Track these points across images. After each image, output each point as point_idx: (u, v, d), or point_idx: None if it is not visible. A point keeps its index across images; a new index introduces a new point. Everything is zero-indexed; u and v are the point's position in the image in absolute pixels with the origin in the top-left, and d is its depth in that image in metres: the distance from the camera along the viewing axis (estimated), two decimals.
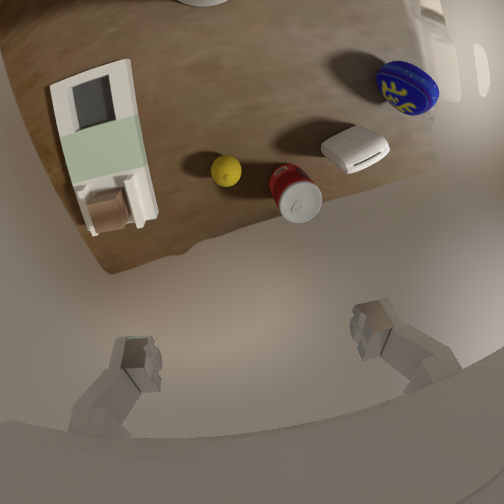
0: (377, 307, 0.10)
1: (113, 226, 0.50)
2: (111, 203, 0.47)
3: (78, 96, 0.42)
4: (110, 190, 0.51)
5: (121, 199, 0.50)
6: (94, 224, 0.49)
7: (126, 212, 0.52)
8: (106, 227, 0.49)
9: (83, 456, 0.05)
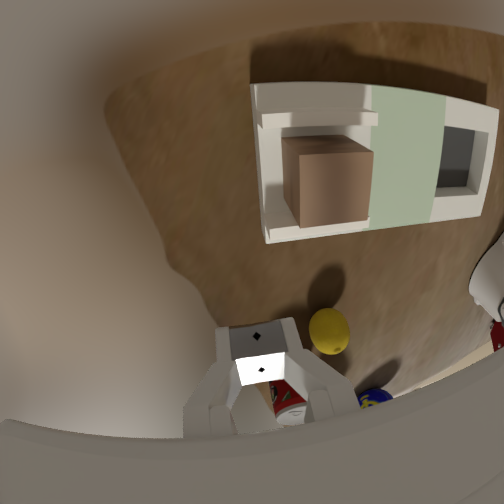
0: (276, 327, 0.10)
1: (308, 205, 0.22)
2: (361, 212, 0.23)
3: (465, 133, 0.28)
4: None
5: None
6: (324, 156, 0.20)
7: None
8: (310, 187, 0.21)
9: (83, 456, 0.05)
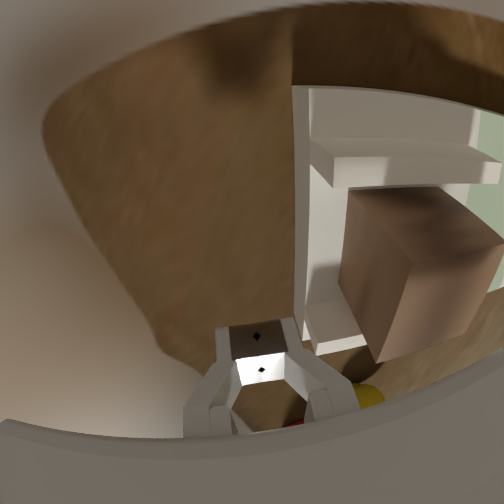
0: (276, 327, 0.10)
1: (400, 334, 0.11)
2: (462, 327, 0.12)
3: None
4: None
5: None
6: (448, 260, 0.09)
7: None
8: (411, 311, 0.10)
9: (83, 456, 0.05)
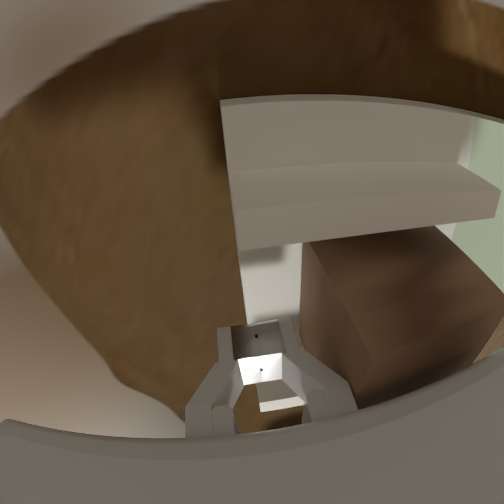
0: (273, 327, 0.10)
1: None
2: None
3: None
4: None
5: None
6: (428, 344, 0.07)
7: None
8: (375, 397, 0.08)
9: (83, 456, 0.05)
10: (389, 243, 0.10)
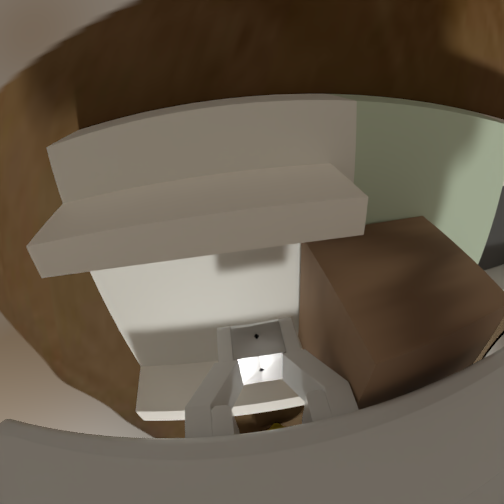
0: (274, 327, 0.10)
1: None
2: None
3: None
4: None
5: None
6: (431, 346, 0.06)
7: None
8: (378, 400, 0.08)
9: (83, 456, 0.05)
10: (388, 244, 0.10)
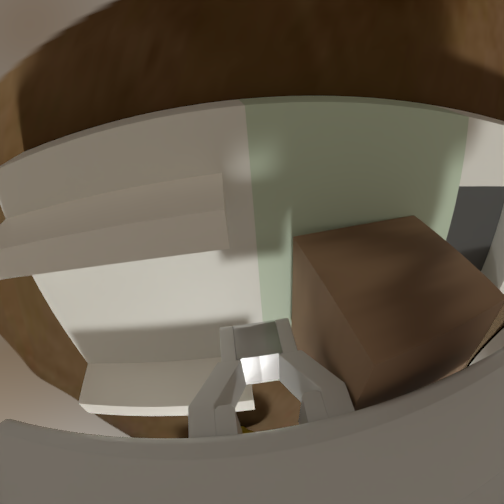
0: (271, 328, 0.10)
1: None
2: None
3: (493, 185, 0.14)
4: None
5: None
6: (428, 345, 0.06)
7: None
8: (375, 401, 0.08)
9: (83, 456, 0.05)
10: (381, 244, 0.10)
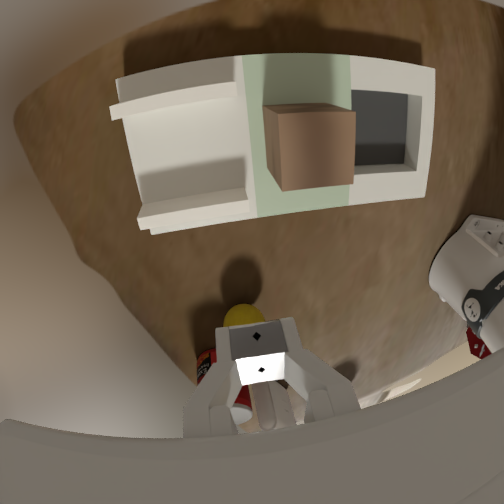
0: (276, 327, 0.10)
1: (290, 166, 0.21)
2: (346, 175, 0.22)
3: (393, 100, 0.27)
4: None
5: None
6: (303, 115, 0.19)
7: None
8: (291, 147, 0.20)
9: (83, 456, 0.05)
10: (300, 105, 0.22)
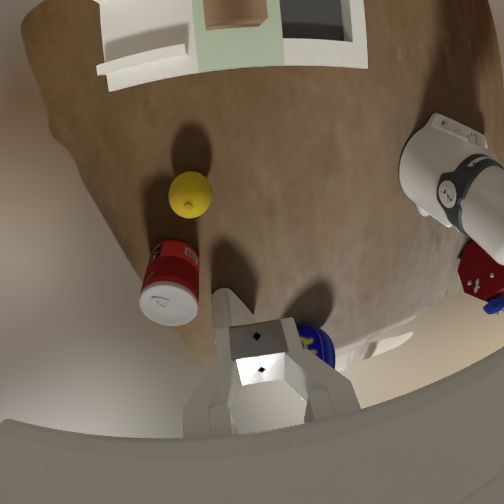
0: (276, 327, 0.10)
1: (210, 3, 0.20)
2: (260, 10, 0.21)
3: None
4: None
5: (248, 23, 0.24)
6: None
7: (219, 26, 0.24)
8: None
9: (83, 456, 0.05)
10: None
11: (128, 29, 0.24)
